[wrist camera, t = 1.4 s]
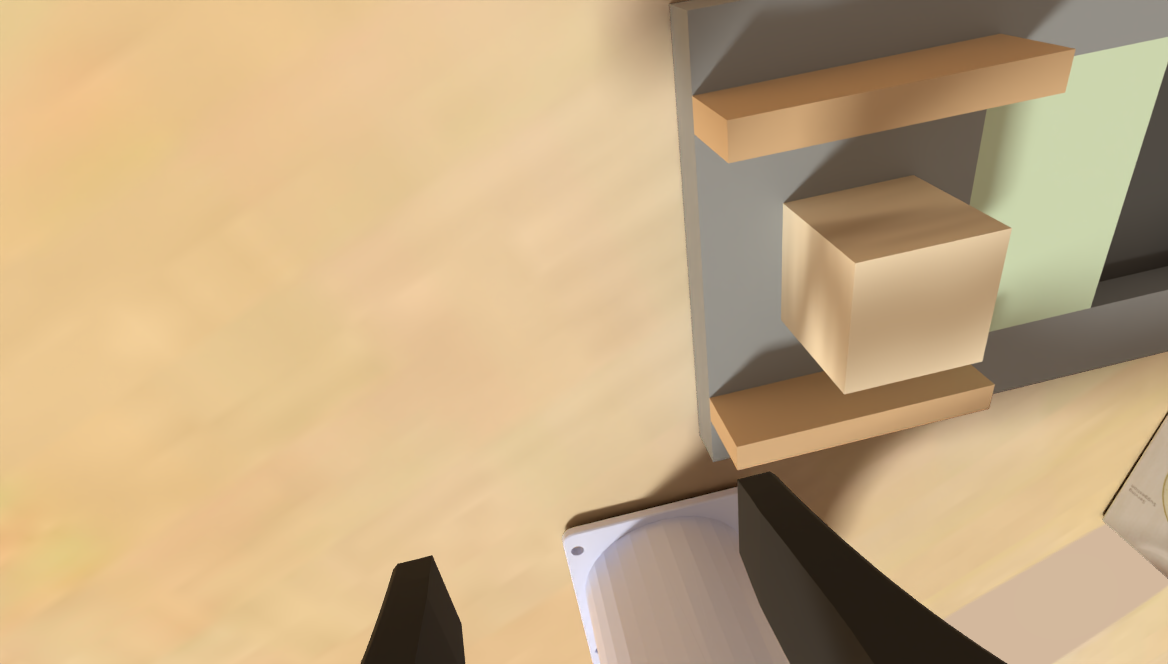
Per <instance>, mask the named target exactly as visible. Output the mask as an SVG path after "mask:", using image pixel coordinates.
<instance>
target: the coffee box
mask: <svg viewBox="0 0 1168 664" xmlns="http://www.w3.org/2000/svg"><path fill="white" fill-rule="evenodd" d="M1102 520H1103V521H1104V523H1106V524H1107V525H1108V526H1109V527H1110V528H1111V529H1112V530H1114V531H1115V532H1116V533H1117V534H1118V535H1119V536H1120V537H1121V538H1123V539H1124V540H1125V541H1126V542H1127V543H1128V544H1129V545H1131V546H1132V547H1133V548H1134V549H1135V550H1136V551H1137V552H1138V553H1140V554H1141V555H1142V556H1143V557H1144V558H1145V559H1146V560H1147V561H1149V562H1150V563H1151V564H1152V565H1153V566H1154V567H1155V568H1157V569H1158V570H1159V571H1160V572H1161V573H1162V574H1163V575H1164V576H1166V577H1167V578H1168V415H1167V416H1166V418H1165V419H1164V421H1163V423H1162V424H1161V426H1160V427H1159V429H1158V431H1157V432H1156V434H1155V436H1154V437H1153V439H1152V440H1151V442H1150V444H1149V445H1148V447H1147V448H1146V450H1145V451H1144V453H1143V455H1142V456H1141V458H1140V459H1139V461H1138V462H1137V464H1136V466H1135V467H1134V469H1133V471H1132V472H1131V474H1130V475H1129V477H1128V479H1127V480H1126V482H1125V483H1124V485H1123V487H1122V488H1121V490H1120V491H1119V493H1118V495H1117V496H1116V498H1115V499H1114V501H1113V502H1112V504H1111V506H1110V507H1109V509H1108V510H1107V512H1106V513H1105V515H1104V517H1103V519H1102Z"/></svg>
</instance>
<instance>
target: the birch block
mask: <svg viewBox="0 0 1168 664" xmlns="http://www.w3.org/2000/svg"><path fill="white" fill-rule="evenodd" d="M1011 231H1012V228H1011V227H1009V226H1007V225H1005V224H1003V223H1002V222H1000V221H998V220H996V219H994V218H992V217H990V216H989V215H987V214H985V213H983V212H981V211H979V210H977V209H976V208H974V207H972V206H970V205H968V204H966V203H964V202H963V201H961V200H959V199H957V198H955V197H953V196H951V195H950V194H948V193H946V192H944V191H942V190H940V189H939V188H937V187H935V186H933V185H931V184H929V183H927V182H926V181H924V180H922V179H920V178H918V177H916V176H914V175H911V176H907V177H902V178H898V179H893V180H888V181H884V182H879V183H874V184H870V185H865V186H861V187H856V188H851V189H847V190H842V191H837V192H833V193H828V194H824V195H819V196H814V197H810V198H805V199H800V200H796V201H791V202H787V203H783V230H782V289H781V321H782V322H783V323H784V324H785V325H786V326H787V328H788V329H789V330H790V331H791V332H792V333H793V335H794V336H795V337H796V338H797V339H798V341H799V342H800V343H801V344H802V345H803V346H804V348H805V349H806V350H807V351H808V352H809V353H810V355H811V356H812V357H813V358H814V359H815V361H816V362H817V363H818V364H819V365H820V366H821V368H822V369H823V370H824V371H825V372H826V374H827V375H828V376H829V377H830V378H831V379H832V381H833V382H834V383H835V384H836V385H837V386H838V388H839V389H840V390H841V391H842V392H843V394H848V393H853V392H857V391H861V390H865V389H869V388H873V387H878V386H882V385H886V384H890V383H894V382H898V381H903V380H907V379H911V378H915V377H919V376H924V375H928V374H932V373H936V372H940V371H944V370H949V369H953V368H957V367H961V366H965V365H969V364H974V363H978V362H982V361H983V356H984V352H985V347H986V343H987V338H988V334H989V329H990V325H991V320H992V316H993V311H994V307H995V302H996V298H997V293H998V289H999V284H1000V280H1001V275H1002V271H1003V266H1004V262H1005V258H1006V253H1007V249H1008V244H1009V240H1010V235H1011Z"/></svg>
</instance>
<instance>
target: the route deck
mask: <svg viewBox="0 0 1168 664" xmlns="http://www.w3.org/2000/svg"><path fill="white" fill-rule="evenodd" d="M669 6H670V21H671V35H672V49H673V63H674V77H675V92H676V106H677V120H678V134H679V149H680V163H681V177H682V191H683V206H684V220H685V234H686V248H687V263H688V277H689V291H690V305H691V319H692V334H693V348H694V362H695V376H696V391H697V405H698V419H699V433H700V437H701V439H702V441H703V443H704V445H705V447H706V449H707V451H708V453H709V455H710V457H711V459H712V461H713V462H716V461H720V460H724V459H728V458H731V459H732V461H733V463H734V465H735V467H736V468H737V470H742V469H746V468H750V467H754V466H758V465H762V464H766V463H770V462H774V461H778V460H782V459H786V458H790V457H795V456H799V455H803V454H807V453H811V452H815V451H819V450H823V449H827V448H831V447H835V446H839V445H843V444H848V443H852V442H856V441H860V440H864V439H868V438H872V437H876V436H880V435H884V434H888V433H892V432H897V431H901V430H905V429H909V428H913V427H917V426H921V425H925V424H929V423H933V422H937V421H941V420H945V419H950V418H954V417H958V416H962V415H966V414H970V413H974V412H978V411H982V410H986V409H989V407H990V403H991V399H992V394H995V393H999V392H1003V391H1007V390H1011V389H1015V388H1019V387H1024V386H1028V385H1032V384H1036V383H1040V382H1044V381H1048V380H1052V379H1056V378H1060V377H1065V376H1069V375H1073V374H1077V373H1081V372H1085V371H1089V370H1093V369H1097V368H1102V367H1106V366H1110V365H1114V364H1118V363H1122V362H1126V361H1130V360H1134V359H1138V358H1143V357H1147V356H1151V355H1155V354H1159V353H1163V352H1167V351H1168V0H688V1H683V2H678V3H672V4H669ZM911 175H914V176H916V177H918V178H920V179H922V180H924V181H926V182H927V183H929V184H931V185H933V186H935V187H937V188H939V189H940V190H942V191H944V192H946V193H948V194H950V195H951V196H953V197H955V198H957V199H959V200H961V201H963V202H964V203H966V204H968V205H970V206H972V207H974V208H976V209H977V210H979V211H981V212H983V213H985V214H987V215H989V216H990V217H992V218H994V219H996V220H998V221H1000V222H1002V223H1003V224H1005V225H1007V226H1009V227H1011V228H1012V231H1011V235H1010V240H1009V244H1008V249H1007V253H1006V258H1005V262H1004V266H1003V271H1002V275H1001V280H1000V284H999V289H998V293H997V298H996V302H995V307H994V311H993V316H992V320H991V325H990V329H989V334H988V338H987V343H986V347H985V352H984V356H983V361H982V362H978V363H974V364H969V365H965V366H961V367H957V368H953V369H949V370H944V371H940V372H936V373H932V374H928V375H924V376H919V377H915V378H911V379H907V380H903V381H898V382H894V383H890V384H886V385H882V386H878V387H873V388H869V389H865V390H861V391H857V392H853V393H848V394H843V392H842V391H841V390H840V389H839V388H838V386H837V385H836V384H835V383H834V382H833V381H832V379H831V378H830V377H829V376H828V375H827V374H826V372H825V371H824V370H823V369H822V368H821V366H820V365H819V364H818V363H817V362H816V361H815V359H814V358H813V357H812V356H811V355H810V353H809V352H808V351H807V350H806V349H805V348H804V346H803V345H802V344H801V343H800V342H799V341H798V339H797V338H796V337H795V336H794V335H793V333H792V332H791V331H790V330H789V329H788V328H787V326H786V325H785V324H784V323H783V322H782V321H781V289H782V230H783V203H787V202H791V201H796V200H800V199H805V198H810V197H814V196H819V195H824V194H828V193H833V192H837V191H842V190H847V189H851V188H856V187H861V186H865V185H870V184H874V183H879V182H884V181H888V180H893V179H898V178H902V177H907V176H911Z"/></svg>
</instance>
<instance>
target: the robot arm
mask: <svg viewBox="0 0 1168 664" xmlns="http://www.w3.org/2000/svg"><path fill="white" fill-rule="evenodd" d="M737 484H738V487H734V488H730V489H726V490H722V491H718V492H714V493H710V494H706V495H702V496H698V497H694V498H690V499H686V500H682V501H678V502H674V503H669V504H665V505H661V506H657V507H653V508H649V509H645V510H641V511H637V512H633V513H629V514H625V515H621V516H617V517H613V518H609V519H605V520H601V521H597V522H593V523H588V524H584V525H580V526H576V527H572V528H570V529H568V530H566V531H565V532H564V533H563V535H562V541H563V546H564V550H565V554H566V558H567V562H568V566H569V570H570V574H571V578H572V582H573V586H574V590H575V594H576V598H577V602H578V606H579V610H580V614H581V618H582V622H583V626H584V630H585V634H586V638H587V642H588V646H589V650H590V654H591V658H592V662H593V664H1007V663H1005V662H1004V661H1002V660H1001V659H999V658H998V657H996V656H995V655H993V654H992V653H990V652H989V651H987V650H985V649H984V648H982V647H981V646H979V645H978V644H976V643H975V642H974V641H972V640H971V639H969V638H968V637H966V636H965V635H963V634H962V633H961V632H959V631H958V630H956V629H955V628H953V627H952V626H951V625H949V624H948V623H946V622H945V621H944V620H942V619H941V618H940V617H938V616H937V615H935V614H934V613H933V612H931V611H930V610H929V609H927V608H926V607H925V606H923V605H922V604H921V603H919V602H918V601H917V600H916V599H914V598H913V597H912V596H910V595H909V594H908V593H907V592H905V591H904V590H903V589H901V588H900V587H899V586H898V585H896V584H895V583H894V582H893V581H891V580H890V579H889V578H888V577H886V576H885V575H884V574H883V573H882V572H880V571H879V570H878V569H877V568H875V567H874V566H873V565H872V564H871V563H870V562H868V561H867V560H866V559H865V558H864V557H863V556H861V555H860V554H859V553H858V552H857V551H856V550H854V549H853V548H852V547H851V546H850V545H849V544H847V543H846V542H845V541H844V540H843V539H842V538H841V537H840V536H838V535H837V534H836V533H835V532H834V531H833V530H832V529H831V528H830V527H828V526H827V525H826V524H825V523H824V522H823V521H822V520H821V519H820V518H819V517H818V516H817V515H816V514H814V513H813V512H812V511H811V510H810V509H809V508H808V507H807V506H806V505H805V504H804V503H803V502H802V501H801V500H800V499H799V498H798V497H797V496H796V495H795V494H794V493H793V492H792V491H791V490H790V489H789V488H788V487H787V486H786V485H785V484H784V483H783V482H782V481H781V480H780V479H779V478H778V477H777V476H776V475H774V474H773V473H771V472H766V473H762V474H758V475H754V476H750V477H746V478H742V479H738V480H737ZM578 546H579V547H578ZM575 547H577V548H575ZM361 664H465V656H464V645H463V635H462V625H461V622H460V619H459V617H458V615H457V612H456V610H455V608H454V605H453V603H452V601H451V598H450V596H449V594H448V591H447V589H446V586H445V584H444V582H443V579H442V577H441V575H440V572H439V570H438V568H437V565H436V563H435V561H434V558H433V556H428V557H424V558H420V559H416V560H412V561H408V562H404V563H400V564H397V566H396V567H395V568H394V569H393V572H392V575H391V579H390V582H389V585H388V589H387V592H386V595H385V598H384V601H383V604H382V607H381V610H380V613H379V616H378V619H377V621H376V624H375V627H374V630H373V632H372V635H371V638H370V641H369V643H368V646H367V649H366V651H365V654H364V656H363V659H362V661H361Z"/></svg>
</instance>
